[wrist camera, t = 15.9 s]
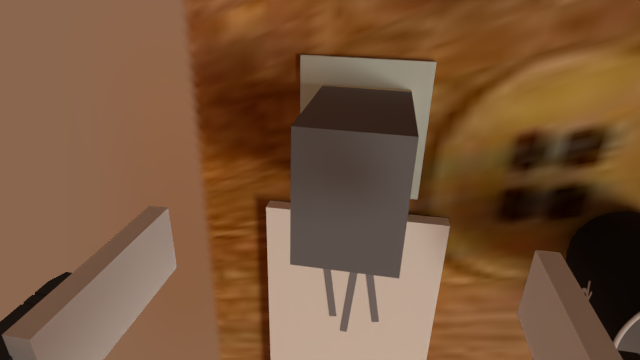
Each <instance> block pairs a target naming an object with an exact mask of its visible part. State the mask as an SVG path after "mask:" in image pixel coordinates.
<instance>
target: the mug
mask: <svg viewBox="0 0 640 360" xmlns="http://www.w3.org/2000/svg"><path fill="white" fill-rule="evenodd" d="M566 263H567V265H568V267H569V268H570V270H571V272H572V274H573V275H574V277H575V279H576V280H577V282H578V284H579V286H580V287H581V289H582V291H583V292H584V294H585V296H586V297H587V299H588V301H589V303H590V304H591V306H592V308H593V309H594V311H595V313H596V314H597V316H598V318H599V320H600V321H601V323H602V325H603V326H604V328H605V330H606V332H607V333H608V335H609V337H610V338H611V340H612V342H613V343H614V345H615V347H616V349H617V350H621V351H628V352H635V353H638V354H640V213H636V212H616V213H610V214H606V215H603V216H600V217H598V218H595V219H593V220H591V221H590V222H588V223H587V224H585V225H584V226H583V227H582V228H580V229H579V231H578V232H577V233H576V234H575V235H574V237H573V238H572V240H571V242H570V244H569V247H568V251H567V257H566Z"/></svg>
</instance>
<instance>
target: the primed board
mask: <svg viewBox="0 0 640 360" xmlns="http://www.w3.org/2000/svg"><path fill="white" fill-rule="evenodd" d="M290 207H291V202H282V201H272V200H270V201H269V203H268V205H267V206H266V225H267V258H268V291H269V324H270V358H271V360H426V358H427V353H428V347H429V342H430V336H431V330H432V325H433V319H434V314H435V308H436V302H437V297H438V291H439V286H440V280H441V274H442V269H443V263H444V257H445V252H446V246H447V241H448V235H449V229H450V224H449V219H448V218H441V217H431V216H421V215H411V214H408V218H407V226H406V233H405V240H404V247H403V254H402V262H401V269H400V276H399V278H391V277H384V276H376V275H368V274H360V273H352V272H345V271H337V270H329V269H321V268H313V267H306V266H298V265H290Z"/></svg>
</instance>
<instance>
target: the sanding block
mask: <svg viewBox="0 0 640 360" xmlns="http://www.w3.org/2000/svg"><path fill="white" fill-rule="evenodd" d="M418 139H419V135H418V128H417V122H416V116H415V109H414V103H413V96H412V90H400V89H386V88H372V87H357V86H343V85H328V84H323V85H322V87H321V88H320V89H319V91H318V92H317V93H316V94H315V96H314V97H313V98H312V100H311V101H310V102H309V104H308V105H307V106H306V107H305V109H304V110H303V111H302V113H301V114H300V115H299V117H298V118H297V119H296V120H295V122H294V123H293V124H292V126H291V207H290V265H298V266H306V267H313V268H321V269H329V270H337V271H345V272H352V273H360V274H368V275H376V276H384V277H391V278H399V276H400V269H401V262H402V254H403V247H404V240H405V233H406V226H407V218H408V211H409V204H410V197H411V190H412V182H413V175H414V168H415V161H416V154H417V146H418Z"/></svg>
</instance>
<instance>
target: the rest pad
mask: <svg viewBox="0 0 640 360" xmlns="http://www.w3.org/2000/svg"><path fill="white" fill-rule="evenodd" d="M435 69H436V61H423V60H403V59H384V58H364V57H345V56H325V55H306V54H301V55H300V114H301V113H302V111H303V110H304V109H305V107H306V106H307V105H308V104H309V102H310V101H311V100H312V98H313V97H314V96H315V94H316V93H317V92H318V91H319V89H320V88H321V87H322V85H323V84H328V85H343V86H357V87H372V88H386V89H400V90H412V96H413V103H414V109H415V116H416V122H417V128H418V135H419V139H418V146H417V154H416V161H415V168H414V175H413V182H412V190H411V197H410V199H418V193H419V186H420V178H421V171H422V164H423V156H424V149H425V142H426V135H427V127H428V120H429V113H430V105H431V98H432V91H433V84H434V76H435Z"/></svg>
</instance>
